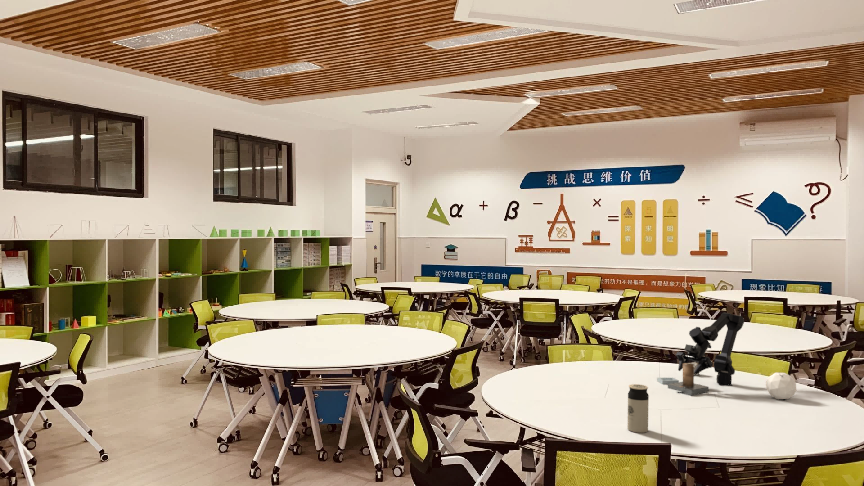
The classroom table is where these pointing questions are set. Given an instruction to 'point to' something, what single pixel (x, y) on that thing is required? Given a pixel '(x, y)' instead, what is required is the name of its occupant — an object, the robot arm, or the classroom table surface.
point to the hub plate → (689, 388)
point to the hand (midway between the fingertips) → (686, 372)
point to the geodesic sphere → (781, 386)
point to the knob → (688, 374)
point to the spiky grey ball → (695, 366)
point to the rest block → (667, 380)
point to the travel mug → (638, 408)
